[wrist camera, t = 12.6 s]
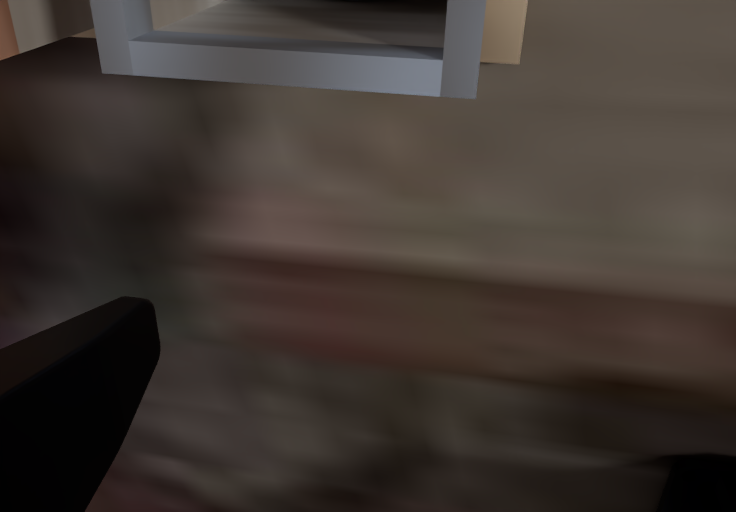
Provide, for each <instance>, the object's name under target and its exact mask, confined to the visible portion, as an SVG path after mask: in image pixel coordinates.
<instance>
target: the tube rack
mask: <svg viewBox="0 0 736 512" xmlns="http://www.w3.org/2000/svg"><path fill="white" fill-rule="evenodd" d="M527 4H528V0H359V1H345V0H0V60H3V59H6V58H9V57H11V56H14V55H17V54H20V53H23V52H26V51H29V50H32V49H35V48H38V47H41V46H43V45H46V44H49V43H52V42H55V41H58V40H61V39H64V38H67V37H85V38H96V40H97V46H98V52H99V58H100V63H101V69H102V73H107V74H121V75H135V76H150V77H164V78H179V79H193V80H207V81H222V82H236V83H251V84H265V85H279V86H294V87H308V88H323V89H337V90H352V91H366V92H380V93H395V94H409V95H424V96H438V97H452V98H467V99H476V93H477V84H478V74H479V65H480V62H488V63H504V64H519V63H520V55H521V48H522V40H523V33H524V26H525V18H526V11H527Z"/></svg>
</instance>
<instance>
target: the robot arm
mask: <svg viewBox="0 0 736 512" xmlns="http://www.w3.org/2000/svg"><path fill="white" fill-rule="evenodd" d="M159 356H160V339H159V333H158V327H157V321H156V315H155V309H154V306H153V304H152V302H151V301H150V300H148V299H144V298H135V297H127V296H125V297H120V298H118V299H115V300H113V301H111V302H108V303H106V304H104V305H101V306H99V307H97V308H95V309H92V310H90V311H88V312H85V313H83V314H81V315H78V316H76V317H74V318H72V319H69V320H67V321H65V322H62V323H60V324H58V325H55V326H53V327H51V328H49V329H46V330H44V331H42V332H39V333H37V334H35V335H32V336H30V337H28V338H26V339H23V340H21V341H19V342H16V343H14V344H12V345H9V346H7V347H5V348H3V349H0V512H85V510H86V508H87V506H88V505H89V503H90V501H91V499H92V498H93V496H94V494H95V492H96V491H97V489H98V487H99V485H100V484H101V482H102V480H103V478H104V477H105V475H106V473H107V471H108V469H109V468H110V466H111V464H112V462H113V461H114V459H115V457H116V455H117V453H118V451H119V449H120V447H121V445H122V443H123V441H124V439H125V437H126V435H127V432H128V430H129V428H130V425H131V423H132V421H133V418H134V416H135V414H136V411H137V409H138V407H139V404H140V402H141V400H142V397H143V395H144V393H145V390H146V388H147V386H148V384H149V381H150V379H151V377H152V374H153V372H154V370H155V367H156V365H157V363H158V360H159ZM689 471H691V472H689ZM685 472H689V473H685ZM656 512H736V465H732V464H724V463H717V462H709V461H702V460H695V459H681V460H678V461H677V462H675V463H674V465H673V466H672V469H671V471H670V474H669V477H668V480H667V483H666V486H665V488H664V491H663V494H662V497H661V500H660V503H659V506H658V508H657V511H656Z"/></svg>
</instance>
